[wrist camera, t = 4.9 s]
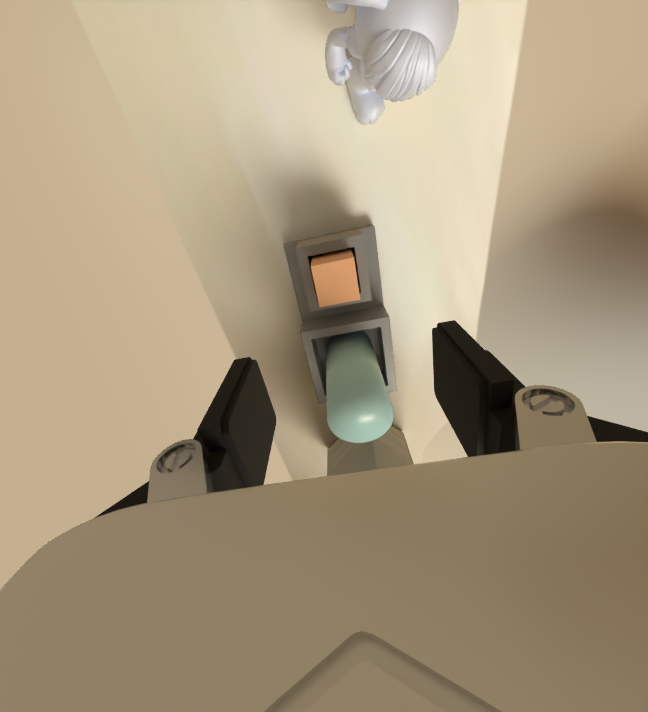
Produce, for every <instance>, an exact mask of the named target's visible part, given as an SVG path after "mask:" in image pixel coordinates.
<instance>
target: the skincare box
mask: <svg viewBox="0 0 648 712" xmlns="http://www.w3.org/2000/svg"><path fill="white" fill-rule="evenodd" d="M406 465H413V461H412V458H411V455H410V452H409V449H408V446H407V443H406V439H405V437H404V433H403V432H401V431H400V430H398V429H396V428H395V427H393V426H392V425H391V426H390V428H389V429H388V431H387V432H386V433H385V434H383V435H382V436H381V437H379V438H377V439H375V440H372V441H369V442H364V443H353V442H348V441H345V440H342V439H340V438H338V439H337V440H336V442H335V443H334V444H333V445H332V446H331V447H330V448H329V449H328V461H327V476H333V475H341V474H348V473H355V472H362V471H370V470H377V469H384V468H391V467H398V466H406Z"/></svg>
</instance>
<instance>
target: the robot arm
mask: <svg viewBox="0 0 648 712" xmlns="http://www.w3.org/2000/svg"><path fill="white" fill-rule="evenodd" d="M432 341H433V368H434V391H435V395H436V398H437V400H438V402H439V404H440V405H441V407H442V409H443V411H444V413H445V415H446V417H447V418H448V420H449V422H450V424H451V426H452V428H453V429H454V431H455V433H456V435H457V437H458V439H459V441H460V443H461V444H462V446H463V448H464V450H465V452H466V454H467V455H468V457H465V458H457V459H450V460H442V461H435V462H427V463H420V464H413V465H406V466H398V467H391V468H384V469H377V470H370V471H362V472H355V473H348V474H341V475H333V476H326V477H319V478H311V479H304V480H297V481H290V482H283V483H275V484H268V485H263V484H264V479H265V474H266V469H267V465H268V460H269V454H270V450H271V445H272V441H273V436H274V431H275V426H276V415H275V412H274V409H273V406H272V403H271V401H270V398H269V395H268V392H267V389H266V386H265V383H264V380H263V377H262V375H261V372H260V369H259V366H258V363H257V361H256V360H252V359H251V358H250V357H247V358H241V359H236V360H234V362H233V364H232V365H231V368H230V369H229V371H228V373H227V375H226V377H225V379H224V381H223V383H222V384H221V386H220V388H219V390H218V392H217V394H216V396H215V398H214V399H213V401H212V403H211V405H210V407H209V409H208V411H207V413H206V415H205V416H204V418H203V420H202V422H201V424H200V426H199V428H198V431H197V433H196V435H195V437H194V439H188V440H183V441H180V442H177V443H175V444H173V445H171V446H169V447H168V448H166V449H165V450H163V451H162V452H161V453H160V454H159V455H158V456H157V457H156V458H155V460H154V461H153V463H152V466H151V470H150V480H149V481H148V482H147V483H145V484H144V485H143V486H141V487H140V488H138V489H137V490H135V491H134V492H132V493H131V494H129V495H128V496H126V497H125V498H123V499H122V500H120V501H119V502H117V503H116V504H115V505H113V506H111V507H110V508H109V509H107V510H106V511H104V512H102V513H101V514H99V515H98V516H97V517H95V518H94V519H92V520H89V521H87V522H85V523H83V524H81V525H79V526H76V527H74V528H72V529H71V530H69V531H67V532H65V533H63V534H61V535H60V536H58V537H56V538H55V539H53V540H52V541H50V542H48V543H47V544H46V545H44V546H43V547H42V548H41V549H39V550H38V551H37V552H36V553H35V554H34V555H33V556H32V557H31V558H30V559H29V560H28V561H27V562H26V563H25V564H24V565H23V566H22V567H21V568H20V569H19V570H18V571H17V573H15V574H14V576H13V577H12V578H11V579H10V580H9V581H8V582H7V583H6V584H5V585H4V587H3V588H2V589H1V590H0V712H648V432H644V431H641V430H637V429H634V428H630V427H626V426H622V425H619V424H615V423H611V422H607V421H604V420H600V419H596V418H593V417H589V416H587V415H586V412H585V409H584V407H583V404H582V403H581V401H580V400H579V399H578V398H577V397H576V396H575V395H573V394H572V393H569V392H567V391H565V390H563V389H560V388H556V387H552V386H545V385H541V386H540V385H535V386H528V387H525V386H524V385H523V384H522V383H521V382H520V381H519V380H518V379H517V378H516V377H515V376H514V375H513V374H511V372H510V371H509V370H508V369H507V368H505V366H504V365H503V364H501V362H499V360H497V359H496V358H495V357H494V356H493V355H492V354H491V353H490V352H489V351H487V350H484V349H483V348H482V347H481V346H480V345H479V344H478V343H477V342H476V341H475V340H474V339H473V338H472V337H471V336H470V335H469V334H468V333H467V332H466V331H465V330H464V329H463V328H462V327H461V326H460V325H459V324H458V323H457V322H456V321H454V320H453V321H448V322H442V323H438V324H437V328H433V329H432Z"/></svg>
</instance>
